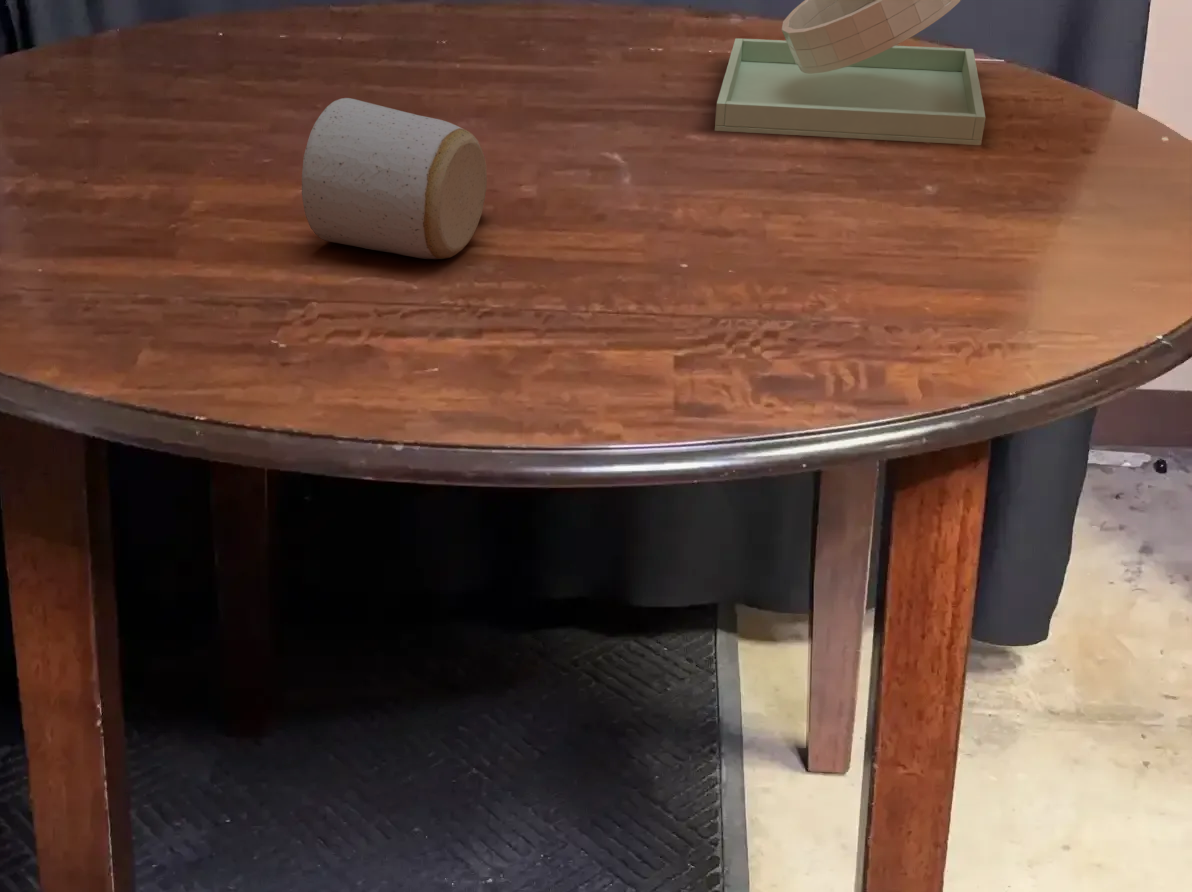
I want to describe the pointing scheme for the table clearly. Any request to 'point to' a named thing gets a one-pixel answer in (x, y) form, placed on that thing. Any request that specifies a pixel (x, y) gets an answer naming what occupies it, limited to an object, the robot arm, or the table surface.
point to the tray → (854, 95)
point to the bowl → (854, 29)
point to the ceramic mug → (392, 181)
